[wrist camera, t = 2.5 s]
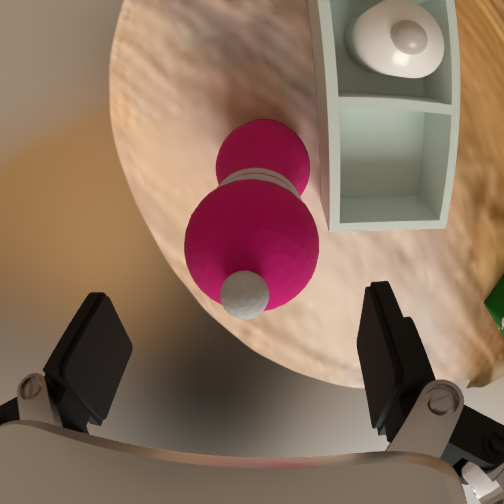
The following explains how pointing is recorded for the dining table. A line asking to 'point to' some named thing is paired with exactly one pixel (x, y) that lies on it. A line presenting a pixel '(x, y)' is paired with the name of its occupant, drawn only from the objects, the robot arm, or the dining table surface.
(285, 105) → the dining table surface
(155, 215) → the dining table surface
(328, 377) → the dining table surface
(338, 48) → the grey divided tray
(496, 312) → the milk carton
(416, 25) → the salt cellar
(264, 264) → the pepper mill
